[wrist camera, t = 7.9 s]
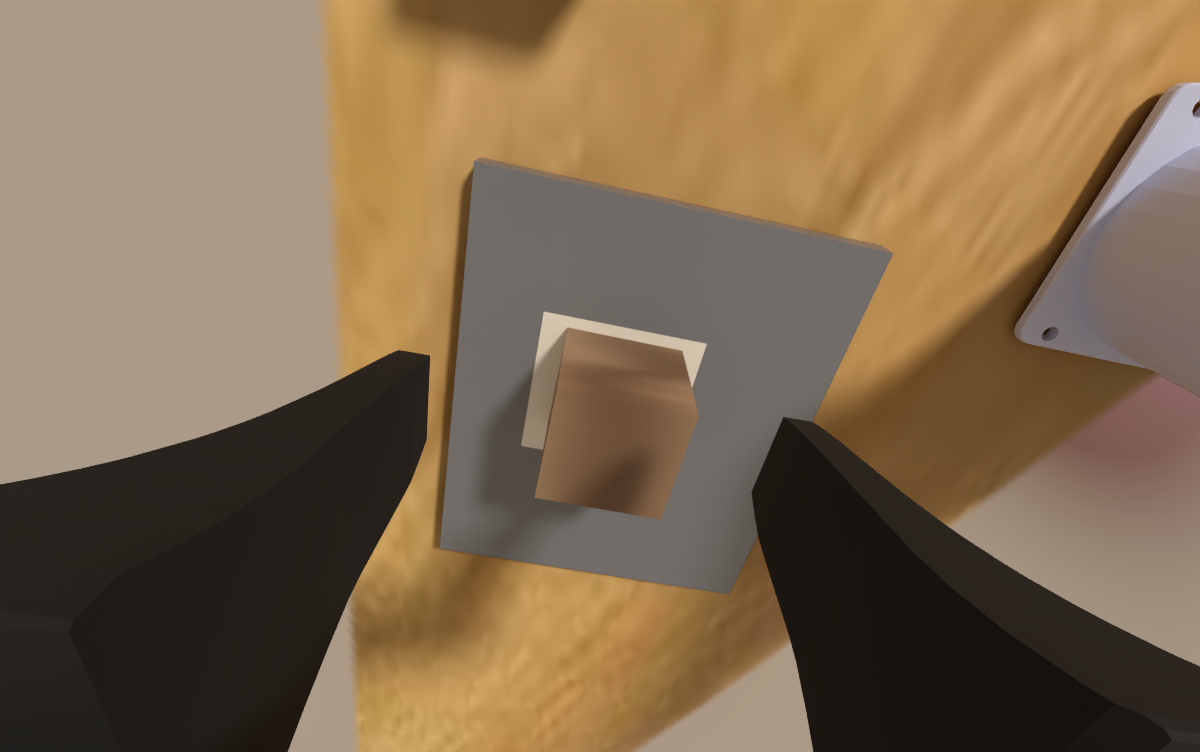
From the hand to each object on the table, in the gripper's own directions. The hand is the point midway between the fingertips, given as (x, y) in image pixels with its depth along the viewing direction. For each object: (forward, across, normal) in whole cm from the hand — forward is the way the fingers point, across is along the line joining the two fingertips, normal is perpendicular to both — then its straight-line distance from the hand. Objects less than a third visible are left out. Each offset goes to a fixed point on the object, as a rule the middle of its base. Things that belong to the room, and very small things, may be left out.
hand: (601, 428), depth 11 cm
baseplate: (+8, -2, +5) cm, 10 cm away
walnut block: (+8, -1, +3) cm, 8 cm away
